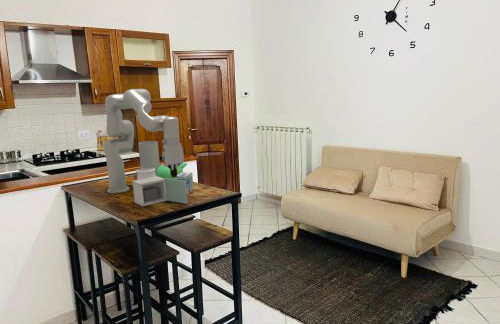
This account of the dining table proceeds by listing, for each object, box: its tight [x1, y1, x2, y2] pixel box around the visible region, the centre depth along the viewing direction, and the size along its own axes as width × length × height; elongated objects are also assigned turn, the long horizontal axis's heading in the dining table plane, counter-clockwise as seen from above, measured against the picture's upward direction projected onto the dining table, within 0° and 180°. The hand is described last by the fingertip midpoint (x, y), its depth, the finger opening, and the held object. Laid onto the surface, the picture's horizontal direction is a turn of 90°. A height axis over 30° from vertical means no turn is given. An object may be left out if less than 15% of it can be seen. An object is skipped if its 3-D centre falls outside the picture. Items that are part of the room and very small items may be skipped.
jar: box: [136, 167, 156, 180], centre depth 215 cm, size 11×10×15 cm
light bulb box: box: [175, 171, 194, 195], centre depth 218 cm, size 11×7×11 cm, turn 168°
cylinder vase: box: [137, 140, 161, 175], centre depth 253 cm, size 12×12×25 cm
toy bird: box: [156, 162, 188, 184], centre depth 239 cm, size 18×17×15 cm
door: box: [166, 178, 188, 205], centre depth 198 cm, size 2×14×12 cm, turn 55°
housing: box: [132, 176, 168, 207], centre depth 201 cm, size 10×14×12 cm
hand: (174, 176), depth 193 cm, fingers closed
